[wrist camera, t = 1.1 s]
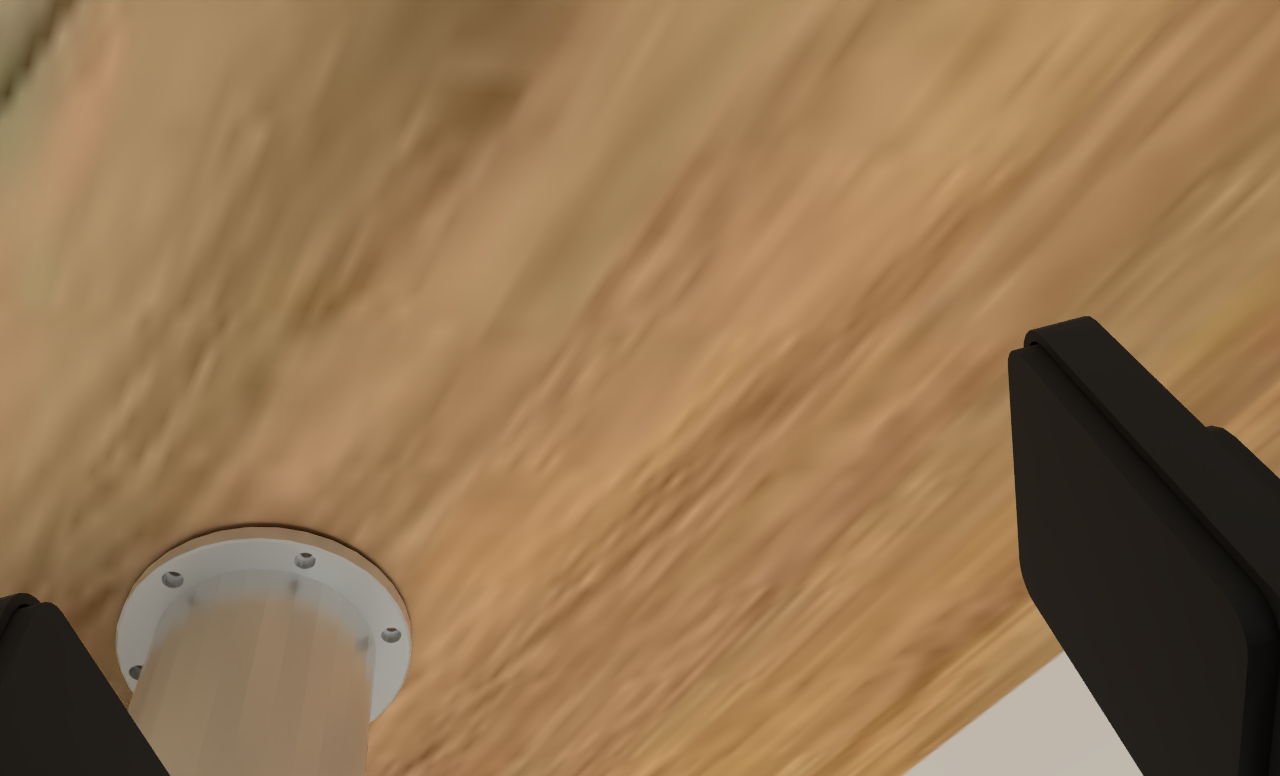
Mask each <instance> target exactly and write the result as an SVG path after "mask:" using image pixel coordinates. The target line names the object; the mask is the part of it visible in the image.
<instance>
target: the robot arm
mask: <svg viewBox="0 0 1280 776" xmlns="http://www.w3.org/2000/svg"><path fill="white" fill-rule="evenodd" d="M1008 375H1009V391H1010V408H1011V425H1012V442H1013V458H1014V475H1015V492H1016V509H1017V525H1018V542H1019V559H1020V567H1021V572H1022V576H1023V579H1024V582H1025V585H1026V588H1027V590H1028V592H1029V595H1030V597H1031V598H1032V600H1033V602H1034V603H1035V605H1036V607H1037V608H1038V610H1039V611H1040V613H1041V615H1042V616H1043V618H1044V619H1045V621H1046V622H1047V624H1048V626H1049V627H1050V629H1051V630H1052V632H1053V633H1054V635H1055V637H1056V638H1057V640H1058V641H1059V643H1060V645H1061V646H1062V648H1063V649H1064V651H1065V652H1066V654H1067V656H1068V657H1069V659H1070V660H1071V662H1072V663H1073V665H1074V667H1075V668H1076V670H1077V671H1078V673H1079V674H1080V676H1081V677H1082V679H1083V681H1084V682H1085V684H1086V686H1087V687H1088V689H1089V690H1090V692H1091V693H1092V695H1093V697H1094V698H1095V700H1096V701H1097V703H1098V705H1099V706H1100V708H1101V709H1102V711H1103V712H1104V714H1105V715H1106V717H1107V719H1108V720H1109V722H1110V723H1111V725H1112V727H1113V728H1114V730H1115V731H1116V733H1117V734H1118V736H1119V738H1120V739H1121V741H1122V742H1123V744H1124V746H1125V747H1126V749H1127V750H1128V752H1129V754H1130V755H1131V757H1132V758H1133V760H1134V761H1135V763H1136V764H1137V766H1138V768H1139V769H1140V771H1141V772H1142V774H1143V776H1280V479H1279V478H1278V477H1277V476H1276V475H1275V474H1274V473H1273V472H1272V471H1271V470H1270V469H1269V468H1268V467H1267V466H1266V465H1264V464H1263V463H1262V462H1261V461H1260V460H1259V459H1258V458H1257V457H1256V456H1255V455H1254V454H1253V453H1252V452H1251V451H1250V450H1249V449H1248V448H1247V447H1245V446H1244V445H1243V444H1242V443H1241V442H1240V441H1239V440H1238V439H1237V438H1236V437H1235V436H1233V435H1232V434H1231V433H1229V432H1228V431H1226V430H1225V429H1224V428H1220V427H1215V426H1208V427H1205V426H1204V425H1203V424H1202V423H1201V422H1200V421H1199V420H1198V419H1197V418H1196V417H1195V416H1194V415H1193V414H1192V413H1191V412H1189V411H1188V410H1187V409H1186V408H1185V407H1184V406H1183V405H1182V404H1181V403H1180V402H1179V401H1178V400H1177V399H1176V398H1175V397H1174V396H1173V395H1172V394H1171V393H1170V392H1169V391H1168V390H1167V389H1166V388H1165V387H1164V386H1163V385H1162V384H1161V383H1160V382H1159V381H1158V380H1157V379H1156V378H1155V377H1154V376H1153V375H1151V374H1150V373H1149V372H1148V371H1147V370H1146V369H1145V368H1144V367H1143V366H1142V365H1141V364H1140V363H1139V362H1138V361H1137V360H1136V359H1135V358H1134V357H1133V356H1132V355H1131V354H1130V353H1129V352H1128V351H1127V350H1126V349H1125V348H1124V347H1123V346H1122V345H1121V344H1120V343H1119V342H1118V341H1117V340H1116V339H1115V338H1113V337H1112V336H1111V335H1110V334H1109V333H1108V332H1107V331H1106V330H1105V329H1104V328H1103V327H1102V326H1101V325H1100V324H1099V323H1098V322H1097V321H1096V320H1094V319H1093V318H1091V317H1090V316H1083V317H1080V318H1076V319H1072V320H1068V321H1064V322H1060V323H1057V324H1053V325H1049V326H1045V327H1041V328H1037V329H1033V330H1030V331H1029V332H1028V333H1027V334H1026V336H1025V340H1024V348H1021V349H1017V350H1013V351H1011V353H1010V354H1009V358H1008ZM411 648H412V637H411V623H410V619H409V616H408V613H407V610H406V606H405V604H404V602H403V600H402V599H401V597H400V595H399V593H398V592H397V590H396V588H395V587H394V585H393V584H392V583H391V582H390V581H389V580H388V578H387V577H386V576H385V575H384V574H383V573H382V572H381V571H380V570H379V569H378V568H377V567H376V566H375V565H373V564H372V563H371V562H369V561H368V560H367V559H365V558H364V557H363V556H361V555H360V554H358V553H357V552H355V551H353V550H351V549H349V548H347V547H345V546H343V545H341V544H339V543H337V542H335V541H333V540H330V539H327V538H324V537H321V536H318V535H314V534H311V533H308V532H304V531H297V530H291V529H285V528H279V527H244V528H237V529H230V530H223V531H218V532H214V533H211V534H208V535H205V536H201V537H198V538H195V539H192V540H190V541H188V542H186V543H184V544H182V545H180V546H178V547H176V548H174V549H172V550H170V551H168V552H167V553H166V554H164V555H163V556H162V557H160V558H159V559H158V560H157V561H155V562H154V563H153V564H151V565H150V566H149V567H148V568H147V569H146V570H145V572H144V573H143V574H142V575H141V576H140V578H139V579H138V580H137V581H136V582H135V584H134V585H133V587H132V589H131V591H130V593H129V595H128V597H127V599H126V601H125V603H124V606H123V609H122V612H121V615H120V618H119V621H118V624H117V627H116V644H115V650H116V654H117V659H118V664H119V668H120V671H121V673H122V675H123V677H124V679H125V681H126V683H127V685H128V687H129V689H130V690H131V691H132V693H133V696H132V699H131V702H130V705H129V708H128V711H127V710H126V708H125V707H124V705H123V704H122V702H121V701H120V699H119V698H118V696H117V695H116V693H115V692H114V690H113V689H112V687H111V686H110V684H109V682H108V681H107V679H106V678H105V676H104V675H103V673H102V672H101V670H100V669H99V667H98V666H97V664H96V663H95V661H94V660H93V658H92V657H91V655H90V654H89V652H88V651H87V649H86V648H85V646H84V645H83V643H82V642H81V640H80V639H79V637H78V636H77V634H76V633H75V631H74V630H73V628H72V627H71V625H70V624H69V622H68V621H67V619H66V618H65V616H64V615H63V613H62V612H61V611H60V610H59V608H58V607H57V606H55V605H54V604H52V603H48V602H44V603H40V602H39V601H38V600H37V598H35V597H33V596H32V595H30V594H26V593H18V594H15V595H11V596H7V597H3V598H0V776H365V769H366V759H367V748H368V737H369V727H370V723H371V722H372V721H374V720H375V719H376V718H377V717H378V716H379V715H380V714H381V713H382V712H383V711H384V710H385V709H386V708H387V707H388V706H389V705H390V704H391V703H392V702H393V700H394V699H395V697H396V696H397V694H398V692H399V691H400V689H401V688H402V686H403V684H404V681H405V678H406V675H407V673H408V670H409V667H410V658H411Z"/></svg>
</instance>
